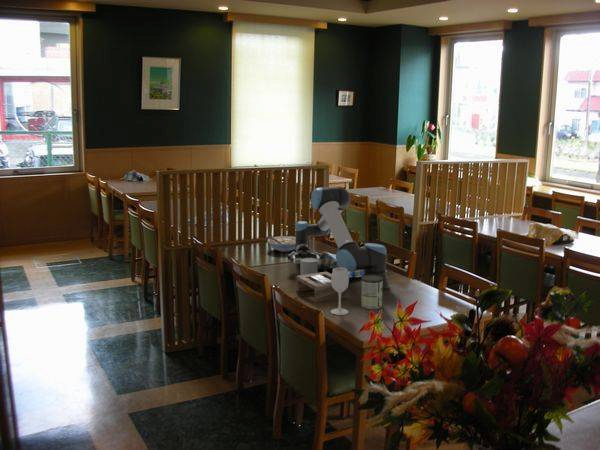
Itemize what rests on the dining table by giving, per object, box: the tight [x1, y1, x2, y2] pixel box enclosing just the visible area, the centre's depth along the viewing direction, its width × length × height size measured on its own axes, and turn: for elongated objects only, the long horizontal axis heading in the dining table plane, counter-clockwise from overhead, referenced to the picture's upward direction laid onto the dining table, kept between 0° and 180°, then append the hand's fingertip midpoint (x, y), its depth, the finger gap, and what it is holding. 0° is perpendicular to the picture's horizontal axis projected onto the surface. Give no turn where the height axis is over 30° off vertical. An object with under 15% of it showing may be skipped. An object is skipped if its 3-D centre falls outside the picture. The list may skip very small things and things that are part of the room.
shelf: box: [295, 271, 349, 303], centre depth 325 cm, size 22×18×8 cm
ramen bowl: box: [266, 235, 296, 253], centre depth 416 cm, size 25×23×8 cm
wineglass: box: [329, 266, 350, 316], centre depth 296 cm, size 9×9×21 cm
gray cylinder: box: [299, 257, 318, 275], centre depth 346 cm, size 10×10×12 cm
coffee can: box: [360, 275, 383, 310], centre depth 306 cm, size 10×10×14 cm
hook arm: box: [310, 275, 331, 284], centre depth 324 cm, size 15×6×2 cm, turn 27°
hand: (306, 260), depth 356 cm, fingers open, 13 cm apart
